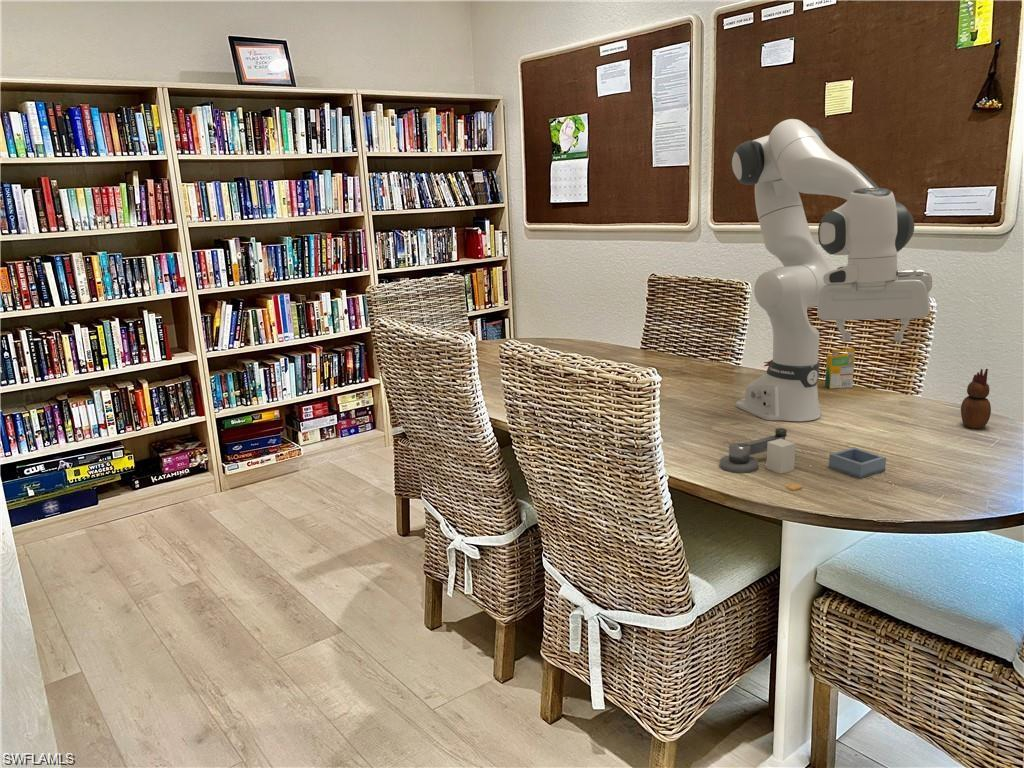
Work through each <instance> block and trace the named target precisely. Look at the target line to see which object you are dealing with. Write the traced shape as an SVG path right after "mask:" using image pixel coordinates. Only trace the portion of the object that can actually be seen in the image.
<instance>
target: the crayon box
mask: <svg viewBox="0 0 1024 768" xmlns="http://www.w3.org/2000/svg"><path fill="white" fill-rule="evenodd" d="M831 351H832V353H831V354H826V364H825V365H826V366H825V380H824V381H825V382H824V387H825V388H827V389H829V390H832V389H842V388H843V389H844V388H853V384H854V370H855V369H854V368H855V356H856V355H855V354H856V348H847V349H844V348H843V349H832V350H831ZM843 352H847V353H843Z"/></svg>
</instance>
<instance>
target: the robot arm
mask: <svg viewBox="0 0 1024 768" xmlns="http://www.w3.org/2000/svg"><path fill="white" fill-rule="evenodd" d="M731 167H732V171H733V174H734V175H735V176H734V177H735V178H736V180H737V181H738V182H739V183H740V184H742V185H746V186H750V185H754V200H755V201H754V204H755V211H756V215H757V219H758V223H759V227H760V231H761V235H762V239H763V243H764V246H765V249H766V250H767V251H768V252H769V253H770V254H771V255H774V257H776V258H777V259H778V260H779V261H780V263H781V264H782V265H783V266H779V267H778V266H777V267H775V268H772V269H770V270H767V271H766V272H763V273H761V274H760V275H759V276H758V277H757V279H756V280H755V284H754V286H753V287H754V288H753V289H754V290H753V291H754V292H753V293H754V298H755V301H756V302H757V304H758V305H759V306H760V307H761V308H762V309H763V310H764V311H765V312H766V313H767V316H768V319H769V320H770V323H771V327H772V339H773V343H772V359H770V360H769V361H765V362H763V364H764V365H763V367H767V368H766V371H765V372H766V373H763V375H761V376H759V377H758V378H756V379H755V380H753V381H752V382H749V384H748V385H747V387H746V389H745V394H744V398H741V399H740V400H738V401H736V402H735V407H736V408H739V409H741V410H743V411H746V412H748V413H750V414H751V415H755V416H757V417H759V418H761V419H763V420H766V421H785V422H786V421H787V422H807V421H808V422H810V421H813V420H818V419H820V418H821V417H822V412H821V409H820V408H821V407H820V403H819V394H818V393H819V392H818V382H819V381H818V380H819V376H820V362H819V349H820V333H819V330H818V329H817V328H816V327H815V326H813V325H811V322H810V320H809V317H808V308H814V307H817V309H816V313H817V317H818V318H819V319H820V320H821V321H836V322H835V324H836V327H837V329H838V330H839V332H840V334H841V336H842V337H841V340H842V343H851V342H852V332H848V331H847V330H846V329H845V327H844V325H845V324H846V321H847V320H848V321H850V320H851V321H852V320H853V321H855V320H858V321H859V320H899V319H900V325H902V327H901V328H900V329H899V331H894V333H893V337H894V338H893V342H895V343H902V342H903V341H904V332H905V331H906V329H907V328H908V326H909V325H910V319H925V318H928V316H929V315H930V313H931V303H930V294H929V293H930V292H931V290H932V289H933V277H932V275H931V274H930V273H929V272H927V271H924V270H923V269H915V270H907V269H905V270H898V253H899V252H900V251H902V249H903V248H905V247H906V246H907V244H908V243H909V242H910V240H911V239H912V237H913V236H914V232H915V221H914V217H913V215H912V213H911V212H910V211H909V209H908V208H907V207H906V206H905V205H904V204H902V202H899V201H897V200H896V198H895V195H894V192H893V191H892V190H890V189H888V188H885V187H879V186H878V185H877V184H876V182H874V181H873V180H872V179H871V178H870V177H869V176H868V175H867V174H866V173H865V172H864V171H862V170H861V168H859V167H858V166H857V165H855V164H853V163H852V162H849V161H848V160H846V159H844V158H842V157H841V156H839V155H838V154H836V153H835V151H832V150H831V149H830V148H829V147H827V145H826V143H825V140H824V136H823V135H822V133H821V132H820V131H819V129H817V128H816V127H812V126H811V127H810V126H809V125H807V123H806V122H804V121H803V120H800V119H796V118H790V119H785V120H783V121H780V122H779V123H778V124H776V125H775V126H774V127H773V128H772V130H771V132H770V133H769V134H768V135H765V136H762V137H759V138H756V139H753V140H747V141H744V142H743V143H742V142H741V143H740V144H739V145H737V146H736V147H735V149H734V151H733V153H732V160H731ZM800 193H801V194H806V195H807V194H808V195H821V196H822V195H823V196H833V197H837V198H841V199H844V200H846V201H845V202H844V203H843V204H841V205H840V206H838V207H837V208H834V209H833V210H829V211H828V212H827V213H826V214H824V215H823V217H822V218H821V220H820V222H819V224H818V228H817V229H818V231H817V235H818V236H817V238H818V243H819V245H820V246H821V248H822V249H823V250H824V251H825V252H826V253H827V254H829V255H833V256H847V263H846V265H845V266H839V267H838V266H835V265H834V264H833V263H831V262H830V261H829V260H828V259H827V258H826V257H825V255H823V253H822V252H821V250H820V248H819V247H818V246H817V244H816V242H815V241H814V238H813V236H812V233H811V231H810V227H809V223H808V220H807V216H806V213H805V209H804V205H803V202H802V198H801V195H800Z"/></svg>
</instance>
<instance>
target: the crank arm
mask: <svg viewBox="0 0 1024 768" xmlns="http://www.w3.org/2000/svg"><path fill="white" fill-rule="evenodd" d="M787 430H788V429H786V428H784V427H783V428H782V427H778V428H777V427H776V428H775V431H774V434H773V435H770V436H767V437H762V438H759V439H754V440H751V441H747V442H732V443H730V444H729V445H728V455H729V461H731V462H734V463H748V462H749V461H750V457H751V456H753V455H756V454H760V453H764V452H767V442H769V441H773V440H777V439H784V440H786V437H787V436H788V435H787V434H788V433H787Z"/></svg>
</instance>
